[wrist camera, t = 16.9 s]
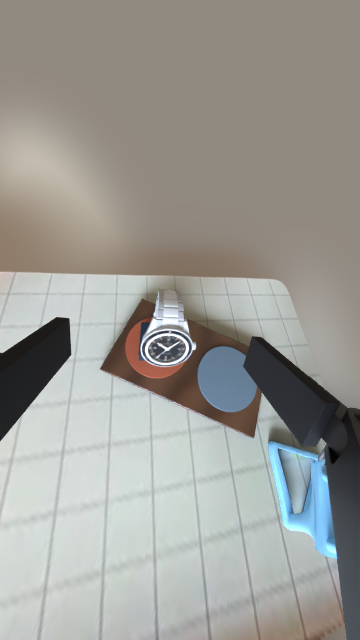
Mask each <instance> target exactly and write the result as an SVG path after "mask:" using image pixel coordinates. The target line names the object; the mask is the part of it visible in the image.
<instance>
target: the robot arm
mask: <svg viewBox="0 0 360 640" xmlns="http://www.w3.org/2000/svg"><path fill="white" fill-rule="evenodd" d="M70 356H71V341H70V321H69V318H60V317H56V318H55V319H53V320H52V321H50V322H49V323H47V324H46V325H44V326H43V327H41V328H40V329H38V330H37V331H35V332H34V333H32V334H31V335H29V336H28V337H26V338H25V339H23V340H22V341H20V342H19V343H17V344H16V345H14V346H13V347H11V348H10V349H8V350H7V351H5V352H4V353H0V441H1V440H2V439H3V437H4V436H5V435H6V434H7V432H8V431H9V430H10V429H11V428H12V426H13V425H14V424H15V423H16V422H17V420H18V419H19V418H20V417H21V415H22V414H23V413H24V412H25V411H26V409H27V408H28V407H29V406H30V404H31V403H32V402H33V401H34V400H35V398H36V397H37V396H38V395H39V393H40V392H41V391H42V390H43V389H44V387H45V386H46V385H47V384H48V382H49V381H50V380H51V379H52V378H53V376H54V375H55V374H56V373H57V371H58V370H59V369H60V368H61V367H62V365H63V364H64V363H65V362H66V361H67V359H68V358H69V357H70ZM243 367H244V369H245V370H246V371H247V373H248V374H249V375H250V377H251V378H252V379H253V381H254V382H255V384H256V385H257V386H258V388H259V389H260V390H261V392H262V393H263V394H264V396H265V397H266V398H267V400H268V401H269V402H270V404H271V405H272V407H273V408H274V409H275V411H276V412H277V413H278V415H279V416H280V417H281V419H282V420H283V421H284V423H285V424H286V425H287V427H288V428H289V430H290V431H291V432H292V434H293V435H294V436H295V438H296V439H297V440H298V442H299V443H300V444H301V446H302V447H316V445H317V444H318V442H319V440H320V438H322V439H323V440H324V441H325V442H326V443H327V444H326V446H325V447H324V449H323V451H322V452H321V454H320V456H319V457H318V460H317V461H318V462H321V460H322V459H325V464H324V465H325V466H326V472H327V481H328V489H329V497H330V505H331V513H332V522H333V530H334V538H335V546H336V554H337V563H338V571H339V579H340V587H341V596H342V604H343V612H344V620H345V628H346V637H347V640H360V410H359V409H356V408H347V407H346V406H344V405H343V404H342V403H341V402H340V401H339V400H337V399H336V398H335V397H334V396H332V395H331V394H330V393H329V392H328V391H326V390H324V388H323V387H322V386H320V385H318V383H317V382H316V381H314V380H313V379H312V378H311V377H309V376H307V375H306V374H305V373H304V372H303V371H301V370H300V369H299V368H298V367H297V366H295V365H294V364H293V363H292V362H291V361H289V360H288V359H287V358H286V357H285V356H283V355H282V354H281V353H280V352H279V351H277V350H276V349H275V348H274V347H273V346H271V345H270V344H269V343H268V342H267V341H265V340H264V339H263V338H262V337H254V336H252V340H251V343H250V346H249V349H248V352H247V355H246V358H245V361H244V364H243Z"/></svg>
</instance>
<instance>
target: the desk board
mask: <svg viewBox="0 0 360 640" xmlns="http://www.w3.org/2000/svg"><path fill="white" fill-rule="evenodd" d="M155 307H156V305H155V304H153V303H151V302H149V301H146V300H144V299H142V300H141V302H140V303H139V305H138V307H137V308H136V310H135V312H134V313H133V315H132V317H131V318H130V320H129V322H128V323H127V325H126V327H125V328H124V330H123V332H122V333H121V335H120V337H119V338H118V340H117V342H116V343H115V345H114V347H113V348H112V350H111V352H110V353H109V355H108V356H107V358H106V360H105V361H104V363H103V365H102V366H101V368H100V369H101V370H102V371H104V372H106V373H108V374H111V375H113V376H115V377H117V378H119V379H122V380H124V381H126V382H128V383H131V384H133V385H135V386H137V387H139V388H142V389H144V390H146V391H148V392H151V393H153V394H155V395H157V396H159V397H162V398H164V399H166V400H168V401H171V402H173V403H175V404H177V405H180V406H182V407H184V408H186V409H188V410H191V411H193V412H195V413H197V414H200V415H202V416H204V417H206V418H208V419H211V420H213V421H215V422H217V423H220V424H222V425H224V426H226V427H228V428H231V429H233V430H235V431H237V432H240V433H242V434H244V435H246V436H248V437H251V438H254V435H255V429H256V423H257V417H258V411H259V405H260V399H261V393H262V392H261V390H260V389H259V388H258V386H257V390H256V394H255V397H254V399H253V400H252V402H251V403H250V404H249V405H248V406H247V407H246V408H244V409H242V410H240V411H236V412H227V411H222V410H220V409H218V408H216V407H214V406H213V405H211V404H210V403H209V402H208V401H207V400H206V398H205V397H204V395H203V394H202V392H201V390H200V387H199V384H198V378H197V372H198V366H199V363H200V361H201V359H202V357H203V356H204V355H205V354H206V353H207V352H208V351H210V350H211V349H213V348H216V347H221V346H226V347H231V348H234V349H236V350H238V351H240V352H241V353H243V354H244V355H245V356H246V355H247V352H248V349H249V347H248V346H246V345H244V344H241V343H239V342H237V341H235V340H233V339H230V338H228V337H226V336H224V335H222V334H219V333H217V332H215V331H213V330H210V329H208V328H206V327H204V326H202V325H199V324H197V323H195V322H193V321H191V320H188V319H187V323H188V328H189V333H190V338H191V340H192V342H196V349H195V350H192V353H191V354H190V356H189V358H188V359H186V361H185V363H184V364H183V366H182V367H181V368H180V369H179V370H178V371H177V372H175V373H174V374H172V375H170V376H167V377H164V378H151V377H147V376H144V375H142V374H140V373H139V372H137V371H136V370H135V369H134V368H133V367H132V365H131V364H130V362H129V361H128V358H127V355H126V349H125V346H126V339H127V336H128V334H129V332H130V331H131V329H132V328H133V327H134V326H135V325H136V324H137V323H139V322H140V321H142V320H144V319H147V318H150V317H153V316H154V312H155Z"/></svg>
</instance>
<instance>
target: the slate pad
mask: <svg viewBox="0 0 360 640" xmlns="http://www.w3.org/2000/svg"><path fill="white" fill-rule="evenodd" d="M245 358H246V356H245V355H244V354H243V353H241V352H240V351H238V350H236V349H234V348H231V347H226V346H221V347H216V348H213V349H211V350H210V351H208V352H207V353H206V354H205V355H204V356H203V357H202V359H201V361H200V363H199V366H198V372H197V378H198V384H199V387H200V390H201V392H202V394H203V395H204V397H205V398H206V400H207V401H208V402H209V403H210V404H211V405H213V406H214V407H216V408H218V409H220V410H222V411H227V412H236V411H240V410H242V409H244V408H246V407H247V406H248V405H249V404H250V403H251V402H252V400H253V399H254V397H255V394H256V390H257V385H256V384H255V382H254V381H253V379H252V378H251V377H250V375H249V374H248V373H247V371H246V370H245V369H244V367H243V364H244V361H245Z"/></svg>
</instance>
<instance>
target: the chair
mask: <svg viewBox="0 0 360 640" xmlns="http://www.w3.org/2000/svg"><path fill="white" fill-rule="evenodd" d="M268 446H269V453H270V458H271V463H272V468H273V472H274V477H275V482H276V486H277V491H278V496H279V500H280V506H281V512H282V519H283V524H284V526H285V527H287V528H288V529H290V530H292V531H303V532H306V533H307V534H309V535H311V536H312V537H313V539H314V541H315V548H316V549H317V550H318V551H319V552H320V553H322V554H323V555H325V556H328V557H332V558H336V559H337V554H336V546H335V538H334V530H333V522H332V513H331V505H330V497H329V489H328V481H327V472H326V466H325V465H324V464H325V459H322V460H321V462H318V461H317V460H318V457H319V456H320V455H318V454H315V453H311V452H308V451H304V450H301V449H298V448H294V447H291V446H288V445H284V444H281V443H278V442H274V441H269V443H268ZM278 448H280V449H283V450H286V451H290V452H293V453H296V454H299V455H302V456H305V457H309V458H312V459H315V463H313V462H311V481H310V485H309V489H308V493H307V497H306V502H305V506H304V511H303V512H302V513H298V514H294V513H293V508H292V504H291V500H290V496H289V492H288V488H287V484H286V481H285V477H284V473H283V469H282V466H281V462H280V458H279V454H278Z"/></svg>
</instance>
